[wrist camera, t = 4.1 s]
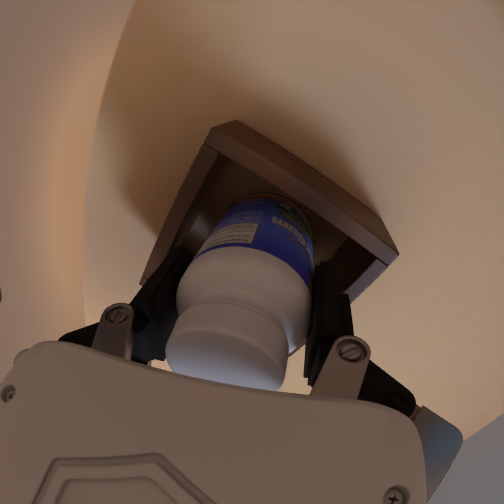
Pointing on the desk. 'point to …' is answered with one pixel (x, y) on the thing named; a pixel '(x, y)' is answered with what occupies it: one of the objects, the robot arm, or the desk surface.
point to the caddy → (293, 184)
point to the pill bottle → (246, 296)
